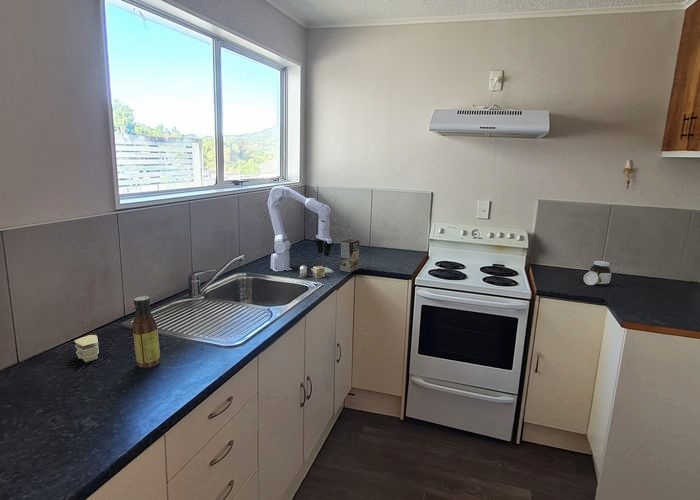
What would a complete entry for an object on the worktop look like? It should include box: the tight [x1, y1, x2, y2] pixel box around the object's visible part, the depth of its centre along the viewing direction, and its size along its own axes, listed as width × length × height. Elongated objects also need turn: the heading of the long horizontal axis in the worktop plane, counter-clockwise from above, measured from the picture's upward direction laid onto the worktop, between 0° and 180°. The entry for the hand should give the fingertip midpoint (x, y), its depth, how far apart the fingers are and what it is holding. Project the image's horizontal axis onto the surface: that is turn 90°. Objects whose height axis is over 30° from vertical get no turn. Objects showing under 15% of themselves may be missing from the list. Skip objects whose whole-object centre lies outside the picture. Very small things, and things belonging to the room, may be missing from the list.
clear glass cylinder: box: [299, 265, 308, 278], centre depth 218 cm, size 4×4×5 cm
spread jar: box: [583, 260, 612, 287], centre depth 223 cm, size 12×11×12 cm
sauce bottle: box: [132, 295, 161, 369], centre depth 122 cm, size 6×6×20 cm
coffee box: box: [339, 238, 360, 273], centre depth 233 cm, size 9×6×16 cm
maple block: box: [312, 265, 326, 279], centre depth 219 cm, size 4×4×5 cm
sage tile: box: [310, 266, 335, 274], centre depth 230 cm, size 9×9×1 cm
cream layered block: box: [74, 334, 100, 363], centre depth 127 cm, size 10×9×6 cm
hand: (323, 254), depth 226 cm, fingers open, 7 cm apart
